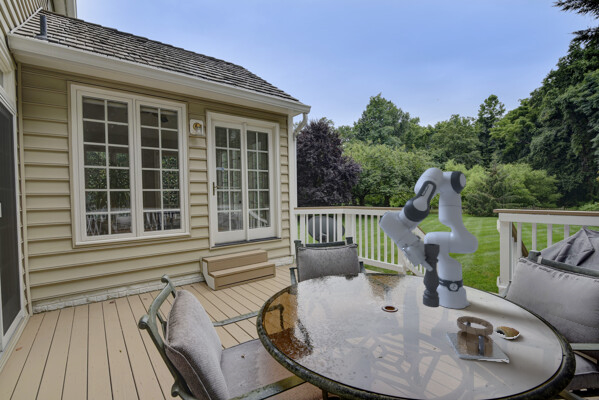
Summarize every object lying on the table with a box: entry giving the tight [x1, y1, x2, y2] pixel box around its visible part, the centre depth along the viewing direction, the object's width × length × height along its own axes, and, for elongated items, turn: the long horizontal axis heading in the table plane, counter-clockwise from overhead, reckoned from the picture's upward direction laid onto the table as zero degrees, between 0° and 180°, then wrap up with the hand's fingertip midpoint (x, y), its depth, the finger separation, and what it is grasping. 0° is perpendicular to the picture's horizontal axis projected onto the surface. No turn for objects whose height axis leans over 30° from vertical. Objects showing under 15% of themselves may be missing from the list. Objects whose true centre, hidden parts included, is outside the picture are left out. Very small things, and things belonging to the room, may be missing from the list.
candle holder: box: [422, 243, 440, 308], centre depth 113 cm, size 6×6×25 cm
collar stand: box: [445, 315, 510, 361], centre depth 105 cm, size 16×16×10 cm
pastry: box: [493, 325, 520, 337], centre depth 114 cm, size 9×7×4 cm
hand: (433, 268), depth 112 cm, fingers closed on candle holder, 4 cm apart
